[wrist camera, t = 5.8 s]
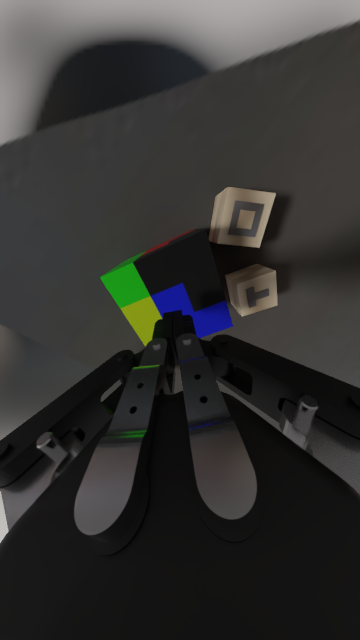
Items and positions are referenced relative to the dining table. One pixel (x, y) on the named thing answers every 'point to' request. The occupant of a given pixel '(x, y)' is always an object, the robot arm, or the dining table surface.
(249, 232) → the marked block
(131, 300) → the puzzle toy
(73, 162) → the dining table surface
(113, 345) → the dining table surface
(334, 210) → the dining table surface
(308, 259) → the dining table surface
